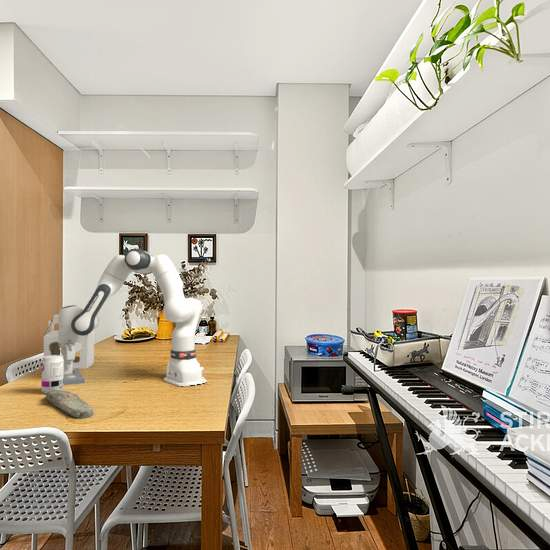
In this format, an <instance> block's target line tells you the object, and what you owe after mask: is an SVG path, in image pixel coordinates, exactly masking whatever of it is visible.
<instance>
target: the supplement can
mask: <svg viewBox="0 0 550 550" xmlns="http://www.w3.org/2000/svg"><path fill="white" fill-rule="evenodd" d="M63 370H64V359H63V355H62V354H60V355H50V356H45V357H44V356H43V358H42V361H41V393H42V394H45V395H46V393H48V392H49V391H53V390H62V391H64V385H63Z"/></svg>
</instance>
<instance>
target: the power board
mask: <svg viewBox="0 0 550 550" xmlns="http://www.w3.org/2000/svg"><path fill="white" fill-rule="evenodd" d="M75 384H85V377H84V376H83V375H82V373H81V372H80V371H79V369H73V373H71V374H63V386H68V385H75Z"/></svg>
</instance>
